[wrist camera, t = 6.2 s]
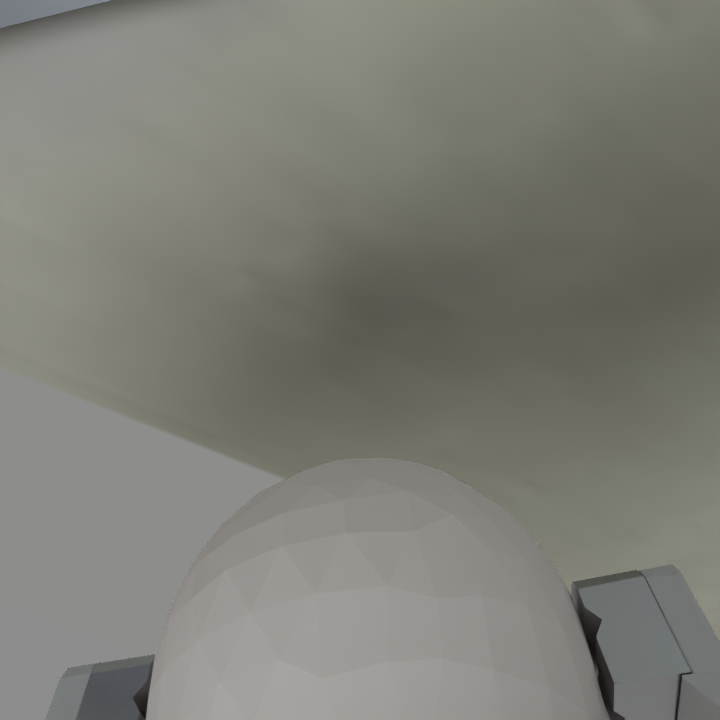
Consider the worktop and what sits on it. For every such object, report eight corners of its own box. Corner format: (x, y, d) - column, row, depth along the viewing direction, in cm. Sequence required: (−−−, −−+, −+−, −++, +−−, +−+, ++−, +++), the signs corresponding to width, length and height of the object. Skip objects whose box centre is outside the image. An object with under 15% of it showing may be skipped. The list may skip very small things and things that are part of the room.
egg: (209, 344, 11) (21, 1030, 4) (575, 398, 12) (908, 1023, 5) (183, 594, 14) (59, 1191, 7) (469, 620, 15) (585, 1170, 8)
